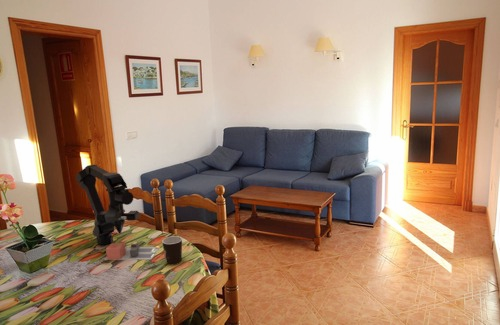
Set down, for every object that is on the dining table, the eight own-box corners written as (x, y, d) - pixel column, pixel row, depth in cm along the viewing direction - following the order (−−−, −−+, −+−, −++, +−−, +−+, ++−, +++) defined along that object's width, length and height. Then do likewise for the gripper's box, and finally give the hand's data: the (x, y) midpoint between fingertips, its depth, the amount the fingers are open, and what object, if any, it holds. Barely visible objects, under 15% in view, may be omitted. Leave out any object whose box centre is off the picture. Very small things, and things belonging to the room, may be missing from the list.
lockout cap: (107, 259, 170) (105, 248, 169) (113, 253, 176) (111, 242, 175) (120, 259, 169) (119, 248, 168) (126, 253, 175) (124, 242, 174)
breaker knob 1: (131, 250, 176) (130, 244, 176) (134, 248, 179) (133, 241, 179) (136, 250, 176) (136, 244, 176) (139, 248, 179) (138, 241, 178)
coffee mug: (181, 265, 163) (179, 243, 161) (162, 266, 163) (159, 244, 161) (186, 253, 174) (185, 233, 172) (168, 254, 175) (166, 233, 173)
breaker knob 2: (130, 256, 170) (129, 250, 170) (133, 253, 173) (132, 247, 173) (136, 256, 170) (135, 250, 170) (138, 253, 173) (137, 247, 173)
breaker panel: (104, 262, 170) (103, 258, 170) (116, 249, 183) (116, 246, 182) (151, 261, 168) (151, 258, 167) (160, 249, 180) (160, 245, 180)
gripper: (87, 207, 167) (92, 240, 170) (128, 206, 165) (132, 239, 168) (99, 199, 177) (103, 230, 181) (138, 198, 176) (141, 230, 179)
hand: (120, 233), depth 177 cm, fingers closed
